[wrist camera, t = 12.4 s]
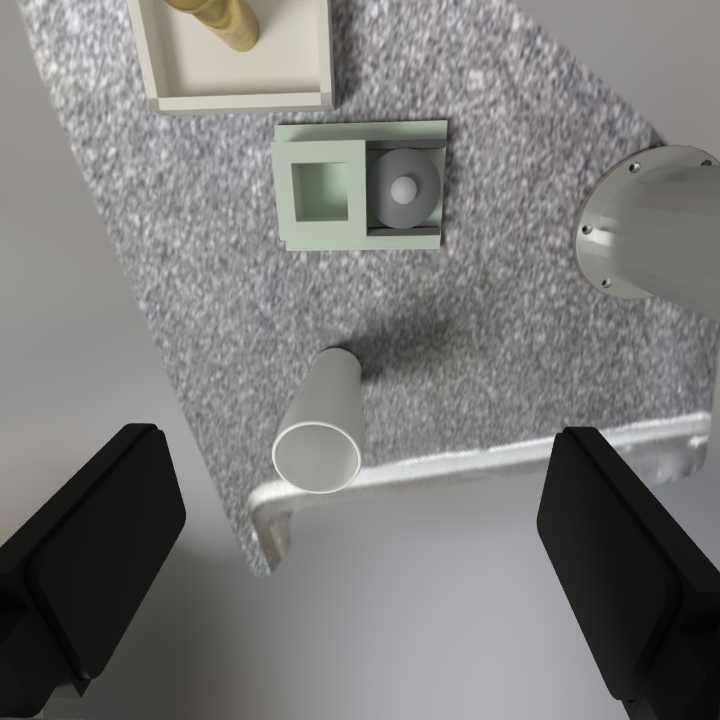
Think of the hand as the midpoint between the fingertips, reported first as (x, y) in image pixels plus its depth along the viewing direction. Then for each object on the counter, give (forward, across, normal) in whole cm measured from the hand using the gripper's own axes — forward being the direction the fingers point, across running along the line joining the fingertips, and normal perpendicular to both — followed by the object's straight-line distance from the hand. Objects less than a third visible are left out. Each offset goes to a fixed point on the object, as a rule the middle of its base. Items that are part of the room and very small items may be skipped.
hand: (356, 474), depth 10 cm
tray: (+30, +10, -17) cm, 36 cm away
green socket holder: (+30, +1, -6) cm, 31 cm away
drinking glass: (+31, +4, +12) cm, 33 cm away
